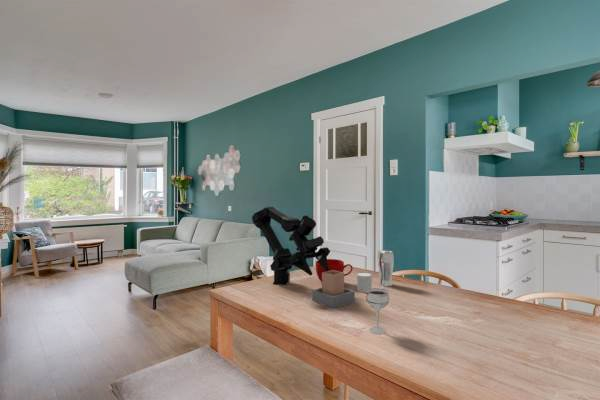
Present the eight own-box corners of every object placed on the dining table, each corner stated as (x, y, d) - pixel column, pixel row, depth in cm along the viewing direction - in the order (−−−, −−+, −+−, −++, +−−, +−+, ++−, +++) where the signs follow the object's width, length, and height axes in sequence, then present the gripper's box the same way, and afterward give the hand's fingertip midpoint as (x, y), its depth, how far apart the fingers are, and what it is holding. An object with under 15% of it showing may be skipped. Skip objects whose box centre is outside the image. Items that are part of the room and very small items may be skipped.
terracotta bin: (322, 298, 129) (322, 272, 128) (333, 294, 132) (332, 270, 132) (333, 302, 124) (333, 275, 124) (344, 298, 128) (344, 272, 128)
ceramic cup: (354, 287, 146) (354, 265, 145) (315, 287, 146) (315, 265, 146) (350, 279, 159) (350, 258, 158) (315, 279, 159) (315, 259, 159)
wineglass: (381, 337, 96) (381, 296, 96) (362, 330, 101) (361, 291, 101) (393, 330, 101) (393, 291, 101) (373, 324, 106) (373, 286, 105)
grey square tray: (312, 300, 129) (311, 290, 129) (333, 294, 136) (333, 284, 136) (333, 308, 120) (333, 297, 120) (354, 301, 128) (354, 291, 127)
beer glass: (374, 283, 151) (374, 251, 151) (386, 281, 154) (386, 249, 154) (384, 287, 145) (384, 253, 145) (397, 285, 148) (397, 252, 148)
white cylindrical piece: (373, 293, 138) (373, 276, 138) (357, 293, 138) (357, 276, 138) (370, 288, 145) (370, 272, 144) (355, 288, 145) (354, 272, 145)
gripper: (293, 232, 131) (312, 264, 123) (327, 228, 143) (346, 258, 135) (281, 249, 138) (298, 281, 130) (314, 244, 150) (332, 273, 142)
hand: (320, 273), depth 134 cm, fingers open, 9 cm apart
